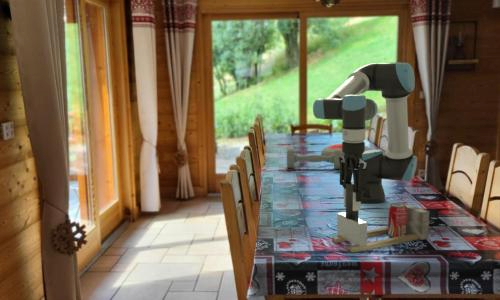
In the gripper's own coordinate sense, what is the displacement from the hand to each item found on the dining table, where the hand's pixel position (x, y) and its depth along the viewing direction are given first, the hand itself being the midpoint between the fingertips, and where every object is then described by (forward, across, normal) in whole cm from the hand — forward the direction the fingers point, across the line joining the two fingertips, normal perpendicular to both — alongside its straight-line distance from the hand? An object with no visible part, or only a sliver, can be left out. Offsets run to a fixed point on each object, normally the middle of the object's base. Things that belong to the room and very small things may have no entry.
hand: (352, 208), depth 158 cm
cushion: (+14, -137, +95) cm, 167 cm away
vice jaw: (+11, 0, 0) cm, 11 cm away
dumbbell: (+14, -119, +57) cm, 133 cm away
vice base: (+13, 0, +12) cm, 18 cm away
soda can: (+13, 0, +20) cm, 24 cm away
